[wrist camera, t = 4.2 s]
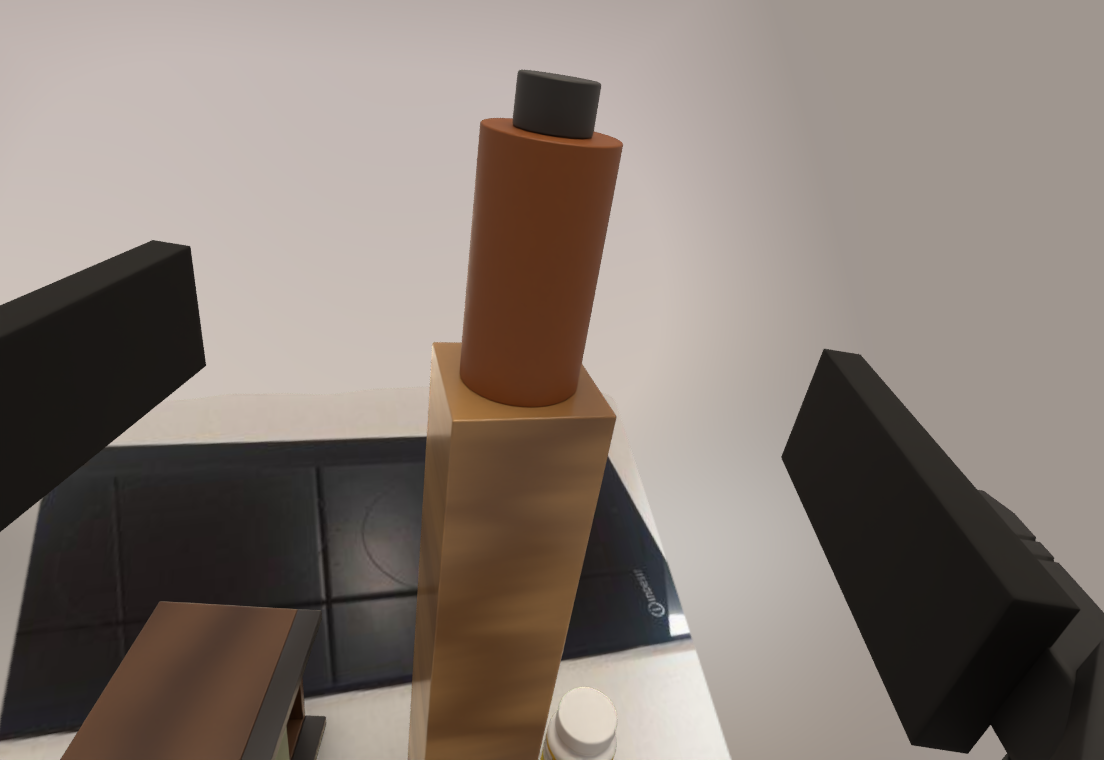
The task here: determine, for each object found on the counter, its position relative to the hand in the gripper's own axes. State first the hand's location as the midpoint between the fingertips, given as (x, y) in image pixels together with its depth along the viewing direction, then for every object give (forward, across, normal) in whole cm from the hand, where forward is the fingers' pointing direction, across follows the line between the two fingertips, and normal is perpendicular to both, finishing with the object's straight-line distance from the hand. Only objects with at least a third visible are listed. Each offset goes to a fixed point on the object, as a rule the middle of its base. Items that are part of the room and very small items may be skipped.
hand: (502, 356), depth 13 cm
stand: (+10, 0, -40) cm, 42 cm away
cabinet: (+9, -16, -41) cm, 44 cm away
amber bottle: (+10, 0, -6) cm, 11 cm away
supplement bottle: (+14, +7, -41) cm, 44 cm away
